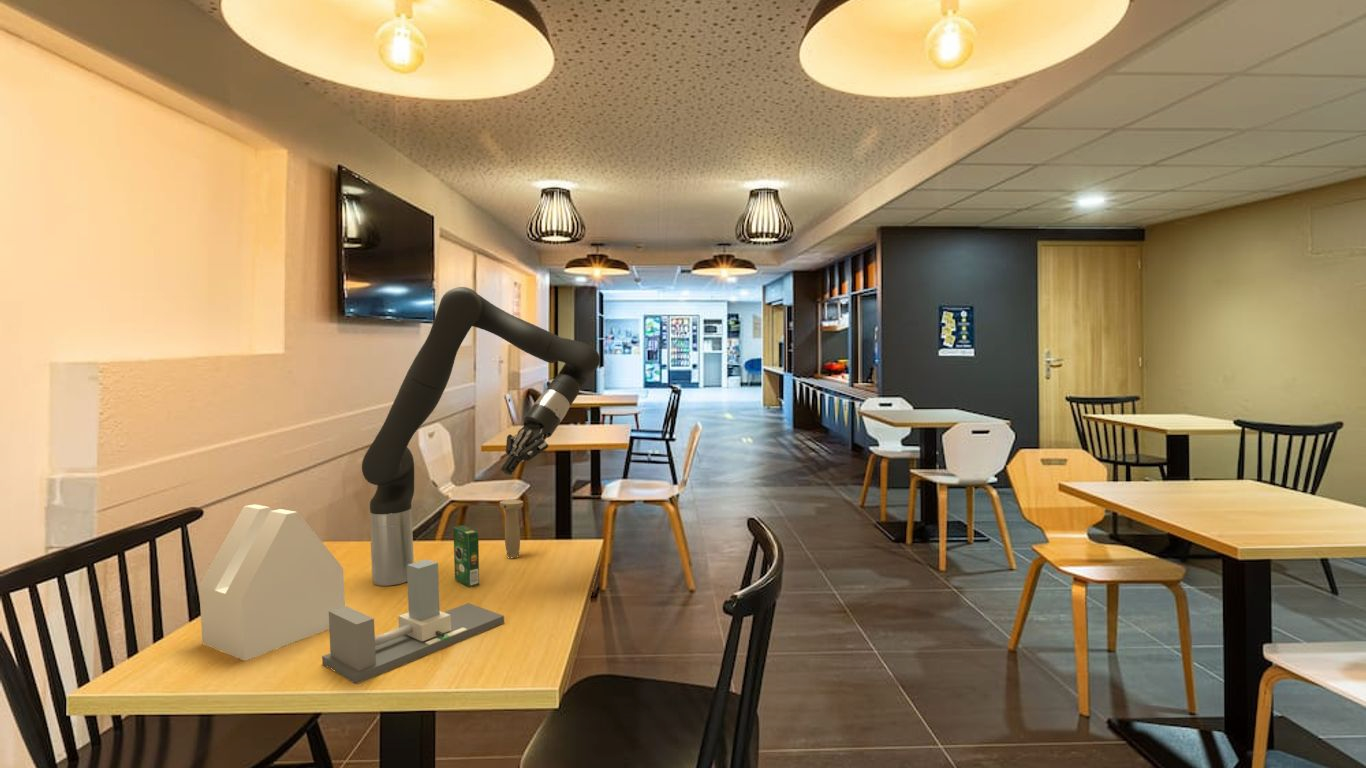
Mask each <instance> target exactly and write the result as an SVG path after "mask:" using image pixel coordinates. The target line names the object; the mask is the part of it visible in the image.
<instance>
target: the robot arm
mask: <svg viewBox="0 0 1366 768" xmlns="http://www.w3.org/2000/svg"><path fill="white" fill-rule="evenodd" d="M472 327H474V328H476V329H480V330H482V331H486V332H488V333H490V334H493V335H494V336H497V337H498V338H501V339H503V340H504V341H506V342H507V343H510V344H511V345H512V346H515V347H516V348H517V349H519V350H521V351H523V352H525V353H526V354H529V355H531V356H533V357H534V358H537V359H539V360H542V361H544V362H545V363H550V364H554V363H556V362H561V363H564V365H563V366H562V368H561V369H560V371H559V372H558V374H557V375H556V376H555V377H554V379H552V381H551V382H550V384H549V385H548V386H547V388H546V389H545V391H544V392H542V394H541V395H540V396H538V398H537V400H536V401H535V402H534V404H533V405H532V406H531V408H530V409H529V411H528V412H527V414H525V416H524V417H523V426H522V427H521V428H520V429H519V430H518V431H517V434H515V435H512V434H508V435H507V437H506V445H505V452H506V454H508V457H507V459H506V461H505V462H504V464H503V465H502V467H500V469H501V471H502V472H503V473H504V474H505V475H508V476H509V475H512V474H513V473H514V471H516V469H517V468H518V466H519V465H520V464H521V463H523V462H524V461H527V462H528V461H530V460H532V459H533V458H535V457H537V456H538V455H540V454H541V453H542V452H543V451H545V450H546V449H547V448H549V444H548V443H547V441H546V439H547V438H550V437H552V435H553V434H554V433H555V431H556V430H557V428H558V427H559V425H560V424H561V422H562V421H563V419H564V418H565V417H566V415H567V413H568V411H569V409H570V407H571V406H572V404H573V403H574V402H575V400H576V398H577V397H578V395H579V394H580V391H581V389H582V388H583V386H584V385H585V384H586V383H587V381H588V380H589V378H591V376H592V375H593V373H594V372H595V371H596V370H597V369H598V367H599V365H600V364H601V363H600V362H601V358H600V354H599V353H598V350H596V349H595V348H594V347H592V346H591V345H589V344H587V343H585V342H582V341H578V340H574V339H571V338H566V337H561V336H558V335H557V334H555V333H552V332H550V331H548V330H546V329H545V328H542V327H539V326H538V325H535V324H533V323H531V322H529V321H526V320H523V318H522V319H521V318H519V317H516V315H513V314H511V313H509V312H507V311H505V310H503V309H501V308H500V307H497V306H496V305H494V304H493V303H491V302H490V301H489V300H487V299H486V298H484V297H482V296H481V295H480V294H478V293H477V292H476V291H475V290H474V289H472V288H470V287H466V286H457V287H455V288H454V287H453V288H451V289H449V290H448V291H446V292H445V293H444V294H443V296H442V297H441V299H440V301H439V305H438V308H437V312H436V315H435V317H434V320H433V323H432V325H431V328H430V331H429V333H428V336H427V338H426V340H425V341H424V343H423V345H422V346H421V347H420V349H419V350H418V352H417V353H416V355H415V357H414V359H413V360H412V363H411V365H410V366H409V369H408V371H407V373H406V375H405V377H404V379H403V380H402V383H401V385H400V388H399V390H398V392H397V394H396V397H395V399H394V400H393V403H392V404H391V408H390V409H389V412H388V414H387V416H386V418H385V421H384V422H383V425H382V426H381V428H380V430H379V432H378V433H377V434H376V436H375V437H374V440H373V441H372V443H371V445H370V446H369V448H368V449H367V450H366V453H365V454H364V456H363V459H362V464H361V473H362V475H363V476H364V479H365V480H366V482H367V483H369V484H372V485H374V486H377V487H376V488H377V489H376V492H375V494H374V495H373V496H372V498H371V499H370V500H369V514H370V515H369V520H370V521H369V522H370V538H371V539H370V540H371V542H370V553H371V554H370V556H371V557H370V559H371V578H372V583H373V584H374V585H375V586H382V587H383V586H388V587H389V586H395V585H401V584H404V583H408V581H407V565H408V564H411V563H415V561H414V560H415V559H414V540H413V539H414V537H413V534H414V533H413V515H412V514H413V513H412V500H413V497H414V494H415V462H414V461H415V459H414V456H413V454H412V452H411V450H410V449H409V448H408V445H409V443H410V442H411V439H412V438H413V436H414V435H415V433H416V432H417V431H418V430H419V429H420V427H421V426H422V425H423V424H424V422H425V421H426V420H427V419H428V418H429V416H430V415H431V414H432V413H433V412H434V411H435V409H436V407H437V405H438V404H439V402H440V400H441V398H442V397H443V394H444V392H445V389H446V387H447V384H448V383H449V380H450V378H451V375H452V372H453V367H454V364H455V360H456V357H457V354H458V352H459V349H460V347H461V345H462V343H463V341H464V340H465V339H466V336H467V334H468V333H469V331H470V330H471V329H472Z"/></svg>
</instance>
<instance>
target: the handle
mask: <svg viewBox="0 0 1366 768" xmlns="http://www.w3.org/2000/svg"><path fill="white" fill-rule="evenodd" d="M499 507H500V509H502V510H504V511H505V513H504V514H505V515H504V516H505V517H504V519H505V520H504V522H505V523H504V543H505V551H506V557H507V556H508V557H509V558H511V557H514V558H513V559H516V558H515V557H517V556H519V557H520V547H521V532H520V531H521V530H520V523H519V510H520V509H521V508H523V507H524V501H523V500H519V499H505V500H504V499H503V500H502V501H499ZM508 557H507V558H508ZM509 558H508V559H509ZM517 558H518V557H517ZM511 559H512V558H511Z"/></svg>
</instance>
